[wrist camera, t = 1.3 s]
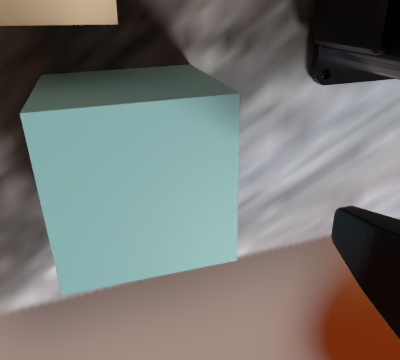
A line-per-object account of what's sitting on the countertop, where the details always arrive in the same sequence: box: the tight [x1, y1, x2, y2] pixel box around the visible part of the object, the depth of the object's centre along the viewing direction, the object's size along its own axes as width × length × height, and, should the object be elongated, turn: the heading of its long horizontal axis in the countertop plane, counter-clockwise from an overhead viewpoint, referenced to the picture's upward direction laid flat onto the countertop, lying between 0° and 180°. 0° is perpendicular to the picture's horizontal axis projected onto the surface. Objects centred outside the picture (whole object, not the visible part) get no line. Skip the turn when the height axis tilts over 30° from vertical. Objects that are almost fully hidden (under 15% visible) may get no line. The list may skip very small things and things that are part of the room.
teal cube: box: [20, 64, 240, 295], centre depth 14 cm, size 6×6×6 cm
